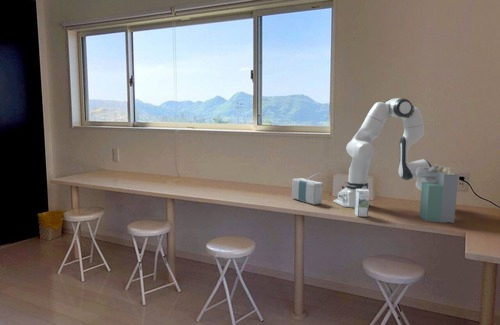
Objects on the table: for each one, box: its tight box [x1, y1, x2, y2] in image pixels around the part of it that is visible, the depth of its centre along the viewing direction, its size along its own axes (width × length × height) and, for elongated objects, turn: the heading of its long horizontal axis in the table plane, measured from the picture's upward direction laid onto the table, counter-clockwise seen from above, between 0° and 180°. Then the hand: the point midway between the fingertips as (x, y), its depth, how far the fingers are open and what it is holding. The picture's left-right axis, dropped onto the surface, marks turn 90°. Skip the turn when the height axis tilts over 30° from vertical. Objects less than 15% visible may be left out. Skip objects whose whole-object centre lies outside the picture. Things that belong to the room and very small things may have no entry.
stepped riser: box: [419, 171, 459, 224], centre depth 210 cm, size 10×14×25 cm
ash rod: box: [434, 164, 456, 175], centre depth 212 cm, size 19×3×3 cm, turn 176°
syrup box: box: [353, 188, 370, 218], centre depth 216 cm, size 6×6×14 cm
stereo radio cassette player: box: [291, 171, 324, 206], centre depth 247 cm, size 21×8×20 cm, turn 33°
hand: (440, 167), depth 218 cm, fingers open, 4 cm apart
